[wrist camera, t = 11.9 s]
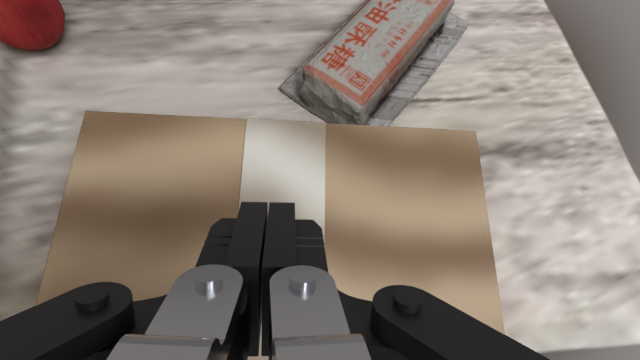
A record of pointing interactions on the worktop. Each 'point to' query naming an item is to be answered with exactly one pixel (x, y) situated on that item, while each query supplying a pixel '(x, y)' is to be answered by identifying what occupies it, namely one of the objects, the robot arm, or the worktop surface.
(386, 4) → the packaged product
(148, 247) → the carton lid
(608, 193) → the worktop surface
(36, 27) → the onion
